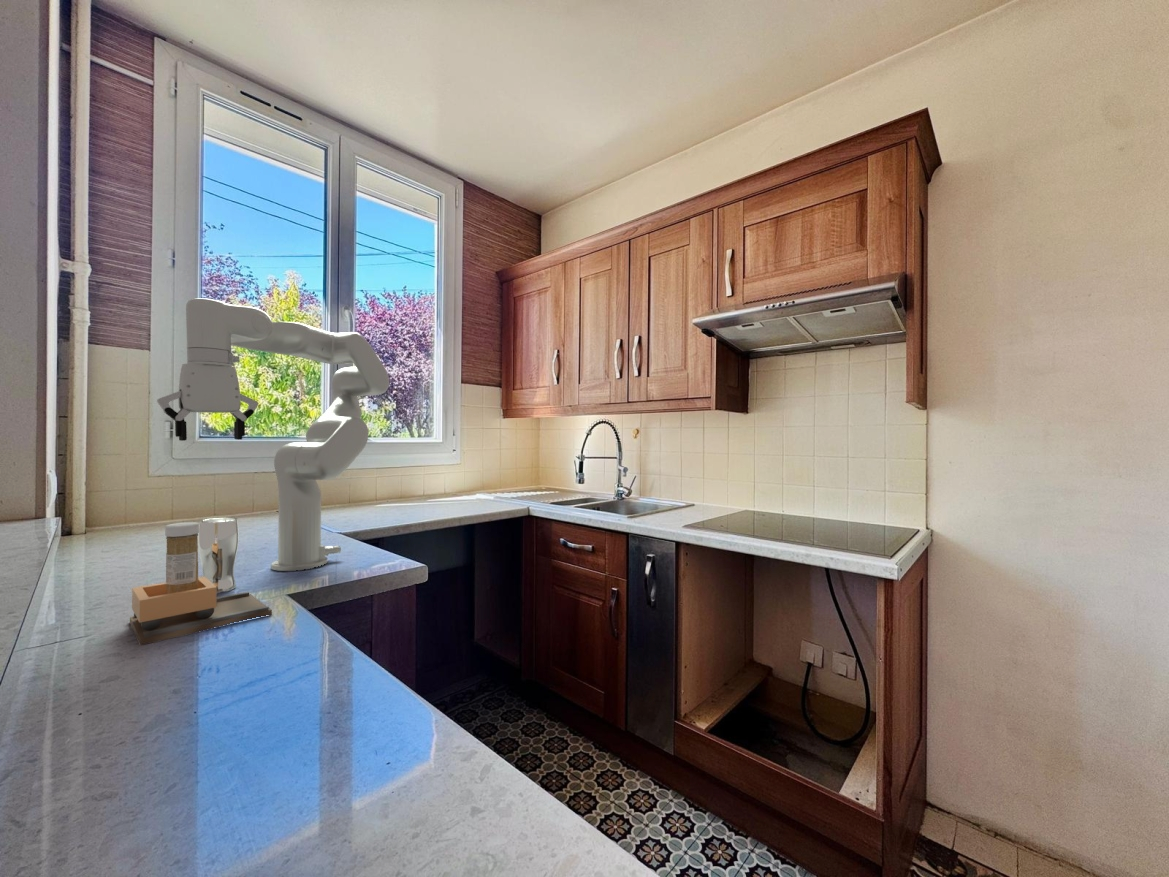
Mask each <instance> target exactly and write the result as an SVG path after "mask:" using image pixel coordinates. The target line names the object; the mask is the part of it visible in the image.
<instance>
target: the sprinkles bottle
mask: <svg viewBox="0 0 1169 877" xmlns="http://www.w3.org/2000/svg"><path fill="white" fill-rule="evenodd" d="M199 526H200V523H198V522H196V521H195V522H194V521H187V522H186V521H184V522H176V523H171V524H170V523H169V524H166V525H165V528H164V529H165V530H164V531H165V534H164V535H165V538H166V552H165V553H166V554H165V558H166V559H165V560H166V561H165V583H166V585H167V587H166V593H167V594H170V593H176V592H182V591H187V590H193V589H198V577H199V561H198V560H199V548H198V535H199Z"/></svg>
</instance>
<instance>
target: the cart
mask: <svg viewBox="0 0 1169 877" xmlns="http://www.w3.org/2000/svg"><path fill="white" fill-rule="evenodd" d="M166 587H167V585H166V582H162V583H161V582H160V583H154V584H148V585H142V586H135V587H132V589H131V593H132V594H131V608H132V611H133V614H134V613H135V615H136V617H137V619H138V621H139V623H140V622H141V626H142V628H143V629H144V630H147V631H151V630H154V629H156V628H158V627H159V626H160V624H161V618H165V617H170V616H175V615H180V614H185V613H190V612H195V613H196V615H197V617H198V618H200V619H207V618H209V617H211V616H212V615H213V613H214V608H215V607H217V597H218V596H217V594H218V593H217V587H216V586H215V585H214V584H213V583H211V582H210V581H209V580H208V579H207V578H206V577H205V576H203V575H202V576H198V589H193V590H187V591H182V592H176V593H170V594H167V593H166Z"/></svg>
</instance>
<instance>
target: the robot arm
mask: <svg viewBox="0 0 1169 877" xmlns="http://www.w3.org/2000/svg"><path fill="white" fill-rule="evenodd" d="M185 310H186V311H185V316H186V317H185V318H186V319H185V320H186V356H187V357H186V363H183V364H182V365H181V368H180V373H179V374H180V375H179V385H178V391H176V392H173V393H170V394H167V395H165V396H162V397H160V398H157V399H156V402H157V404H158V405H159V407H160V408H161V409H162V411H163V413H164V414H166V415H167V416H168V417H170V418H171V420H173V421H174V424H175V425H174V433H175V437H176V438H178V439H179V441H181V442H182V441H185V442H186V441H187V438H188V437H187V436H188V435H187V433H188V431H187V421H186V420H185V418H186V417H187V416H188V415H189V414H190V413H208V414H209V413H210V414H211V413H212V414H213V413H215V414H216V413H217V414H221V413H223V414H224V413H225V414H226V413H230V415H231V416H233V417H234V418H235V421H234V422H233V431H234V434H233V436H234V439H235V440H243V437H244V436H245V435H246V434H245V433H246V429H245V428H246V427H245V426H246V423H245V422H246V421H247V420H248V419H249V418H250V417H251V416H252V415H253V414H254V413H255V411H256V409H257V408H258V406H259V403H260V402H258V400H254V398H253V399H252V398H251V397H248V396H246V395H245V394H242V393H241V390H240V383H239V378H238V374H237V369H236V367H235V366H232V365H233V364H234V363H240V356H238V355H237V356H236V355H234V354H233V352H232V347H236V348H240V349H245V350H249V351H250V350H252V351H259V352H263V353H264V352H266V353H271V354H277V355H282V356H293V357H296V358H297V357H298V358H303V359H307V360H311V361H315V362H319V363H324V364H327V365H345V364H346V365H347V364H351V365H352V364H353V366H348V367H342V368H340V369H338V370H337V371H335V373H334V374H333V376H332V378H331V388H332V389H331V390H332V396H333V398H332V403H331V404H330V405H329V407H328V408H327V409H326V410H324V412H323V413H322V414H321V415H320V416H319V417H318V418H317V419H315V420H314V421H313V422H312V424H311V425H310V426H309V427H308V429H307V431H306V434H305V440H306V441H296V442H295V441H293V442H289V443H286V444H284V445H282V446H281V447H280V448H279V449H278V450H277V451H276V453H275V455H274V459H273V464H274V465H273V466H274V472H275V476H276V480H277V486H278V487H277V488H278V489H277V490H278V515H277V516H278V518H277V519H278V520H277V521H278V522H277V523H278V525H277V526H278V531H277V532H278V534H277V536H278V537H277V539H278V540H277V547H278V548H277V550H278V551H277V560H274V561H272V562H271V564H270V569H271V570H273V571H278V572H294V571H295V572H296V570H298V571H304V569H306V570H311V569H315V568H314V567H316V568H319V567H322V566H324V564H325V565H326V564H327V563H328V559H329V558H328V556H329V555H335V554H340V553H341V552H342V549H341V548H342V547H341V545H334V546H332V545H328V546H325V545H323V544H322V493H321V492H322V491H321V488H320V487H319V484H318V482H317V480H318V481H329V480H334V479H336V478H338V477H340V476H341V475H342V474H343V473H345V471H346V470H347V469H348V468H349V467H350V466H351V464H352V463H353V462H354V461H355V460H356V459H357V457H358V456H359V455H360V454H361V452H362V451H363V450H364V448H366V445H367V443H368V439H369V428H368V425H367V423H366V422H365V421H364V420H363V419H361V418H362V408H361V407H360V404H359V403H360V402H359V399H358V397H365V396H380V395H383V394H385V392H387V391H388V389H389V386H390V377H389V374H388V372H387V370H386V368H385V365H384V364H383V362H382V361H381V360H380V357H379V356H378V355H377V353H376V351H375V350H374V349H373V348H372V346H371V344H370V343H369V342H368V341H367V339H366V338H365V337H364V336H363V335H361V334H360V333H359V332H353V331H349V332H331V331H327V330H323V329H320V328H317V327H314V326H311V325H307V324H305V323H301V322H294V321H272V319H271V317H270V316H269V315H268V313H266V311H263V310H262V309H259V308H258V307H255V306H254V307H253V306H245V305H236V304H229V303H226V302H224V301H221V300H218V299H217V300H216V299H213V298H212V299H210V298H205V297H204V298H201V297H200V298H192V299H188V301H187V302H186V306H185ZM175 400H178V402H177V403H178V408H179V410H178V412H177V411H176V410H174V408H172V407H171V406H170V402H173V401H175ZM241 402H242V403H244V404H246V405H247V406H248V407H247V409H246V410H245V411H244V412H242V411H241V410H240V409H241V404H242V403H241ZM321 565H322V566H321ZM318 566H319V567H318ZM310 568H311V569H310Z"/></svg>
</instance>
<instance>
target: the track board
mask: <svg viewBox="0 0 1169 877" xmlns="http://www.w3.org/2000/svg"><path fill="white" fill-rule="evenodd" d="M266 615H272V616H273V610H272V609H271V608H270V607H269V606H268V605H266V604H265V603H263V602H262V601H261V600H260V599H258V598H257V597H255V596H254V595H253V594H252V593H250V592H249V591H245V592H244V591H243V592H239V593H234V594H233V593H232V594H228V595H224V596H217V607H215V608H214V613H213V615H212V616H211V617H209V618H207V619H200V618H198V617H197V615H196V613H195V612H190V613H185V614H180V615H175V616H170V617H165V618H161V624H160V626H159V627H158V628H156V629H154V630H151V631H147V630H144V629H143V628H142V626H141V622H140V623H139V621H138V619H137V617H136V615H135V613H134V612H133V616H130V617H129V624H130V626H131V628H132V630H133V633H134V636H135V637H136V639H138V640H137V642H138V644H139V645H140V646H143V645H147V644H152V643H157V642H160V641H166V640H169V639H174V638H179V637H182V636H183V637H184V636H187V635H191V634H197V633H200V632H199V631H201V632H204V631H203V630H206V631H208V630H207V629H210V630H212V629H211V628H214V627H219V626H223V625H227V624H230V623H234V622H239V621H243V620H247V619H252V618H256V617H261V616H266ZM223 627H224V626H223ZM219 628H220V627H219ZM214 629H215V628H214ZM196 632H197V633H196Z"/></svg>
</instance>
